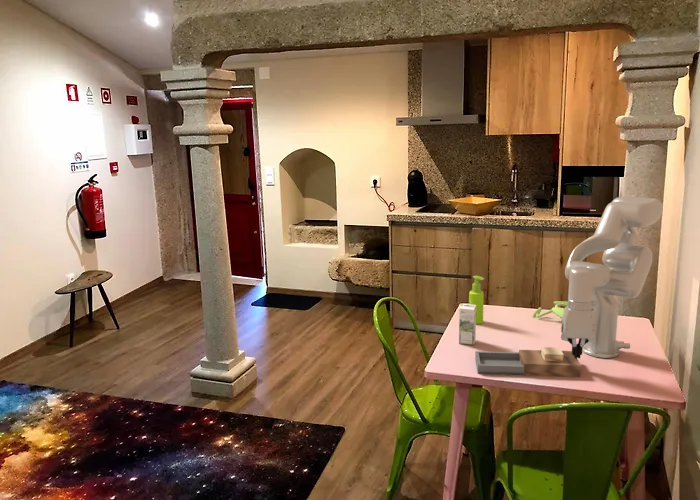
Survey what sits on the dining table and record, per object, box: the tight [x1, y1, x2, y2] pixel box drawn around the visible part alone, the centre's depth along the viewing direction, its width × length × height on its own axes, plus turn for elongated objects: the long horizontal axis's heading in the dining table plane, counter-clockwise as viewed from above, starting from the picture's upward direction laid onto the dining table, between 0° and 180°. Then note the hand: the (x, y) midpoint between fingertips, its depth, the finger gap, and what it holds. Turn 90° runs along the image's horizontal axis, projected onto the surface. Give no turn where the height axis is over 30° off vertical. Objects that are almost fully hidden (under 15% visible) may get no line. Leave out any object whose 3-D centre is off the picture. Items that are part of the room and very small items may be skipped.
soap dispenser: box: [468, 275, 485, 326], centre depth 241 cm, size 6×7×20 cm
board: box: [518, 349, 582, 378], centre depth 198 cm, size 18×12×4 cm, turn 82°
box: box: [474, 350, 525, 376], centre depth 200 cm, size 15×12×3 cm
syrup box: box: [458, 303, 477, 346], centre depth 221 cm, size 6×6×14 cm
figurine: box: [532, 300, 568, 319], centre depth 241 cm, size 18×27×6 cm
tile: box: [540, 346, 563, 361], centre depth 197 cm, size 6×6×2 cm
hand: (576, 356), depth 196 cm, fingers closed
